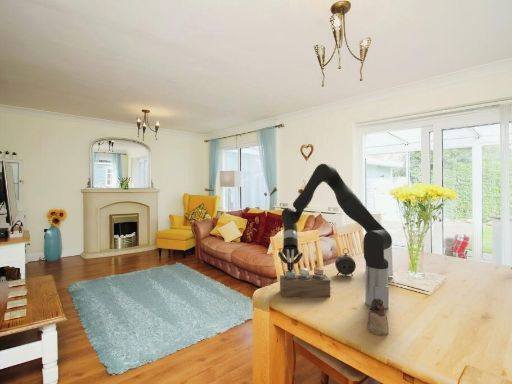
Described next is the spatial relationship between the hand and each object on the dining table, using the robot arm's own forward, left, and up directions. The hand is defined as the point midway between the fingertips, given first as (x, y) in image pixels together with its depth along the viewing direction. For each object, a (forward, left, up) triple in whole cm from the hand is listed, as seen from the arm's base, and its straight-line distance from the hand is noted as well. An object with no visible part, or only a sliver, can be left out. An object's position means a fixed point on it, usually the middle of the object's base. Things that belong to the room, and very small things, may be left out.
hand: (290, 270), depth 132 cm
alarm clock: (+24, -36, -12) cm, 45 cm away
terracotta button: (0, -14, -2) cm, 14 cm away
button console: (0, -7, -12) cm, 14 cm away
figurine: (-34, -26, -12) cm, 45 cm away
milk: (+27, -58, -12) cm, 65 cm away
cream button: (0, -7, -2) cm, 7 cm away
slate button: (0, 0, -3) cm, 3 cm away
